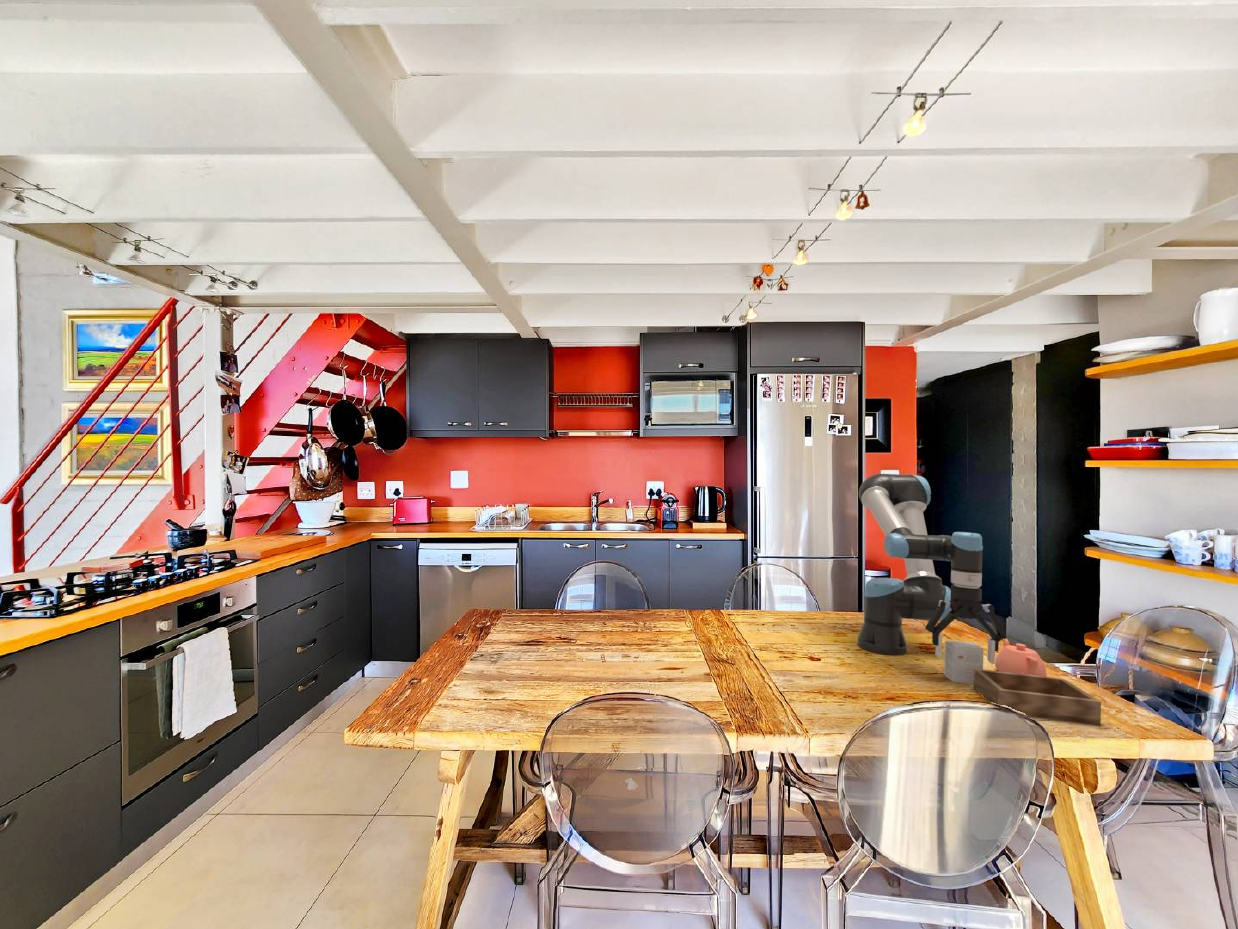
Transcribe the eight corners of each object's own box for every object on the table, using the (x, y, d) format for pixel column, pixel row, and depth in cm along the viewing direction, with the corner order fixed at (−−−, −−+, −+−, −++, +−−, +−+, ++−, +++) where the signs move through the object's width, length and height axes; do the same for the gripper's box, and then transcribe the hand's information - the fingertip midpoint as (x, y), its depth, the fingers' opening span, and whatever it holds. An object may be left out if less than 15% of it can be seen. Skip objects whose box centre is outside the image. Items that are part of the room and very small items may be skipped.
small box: (972, 677, 156) (973, 641, 156) (983, 685, 151) (984, 648, 151) (943, 675, 157) (944, 640, 157) (953, 683, 151) (954, 646, 152)
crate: (999, 712, 133) (1000, 690, 133) (973, 688, 148) (974, 668, 148) (1100, 725, 128) (1101, 702, 128) (1062, 699, 143) (1063, 678, 143)
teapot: (1012, 684, 153) (1013, 651, 153) (981, 662, 170) (982, 633, 170) (1059, 689, 150) (1060, 655, 150) (1024, 666, 168) (1024, 636, 168)
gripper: (923, 584, 153) (921, 658, 153) (1021, 592, 148) (1020, 669, 147) (914, 580, 161) (913, 650, 160) (1008, 587, 155) (1007, 660, 154)
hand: (964, 659), depth 153 cm, fingers open, 13 cm apart
